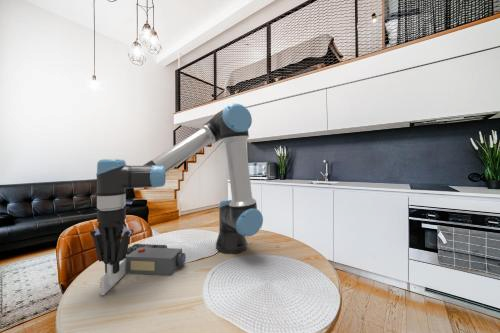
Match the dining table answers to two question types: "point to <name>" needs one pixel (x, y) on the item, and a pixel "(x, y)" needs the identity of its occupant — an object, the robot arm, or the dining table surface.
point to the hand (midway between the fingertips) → (112, 283)
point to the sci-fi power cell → (136, 246)
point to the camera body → (155, 261)
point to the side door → (106, 288)
